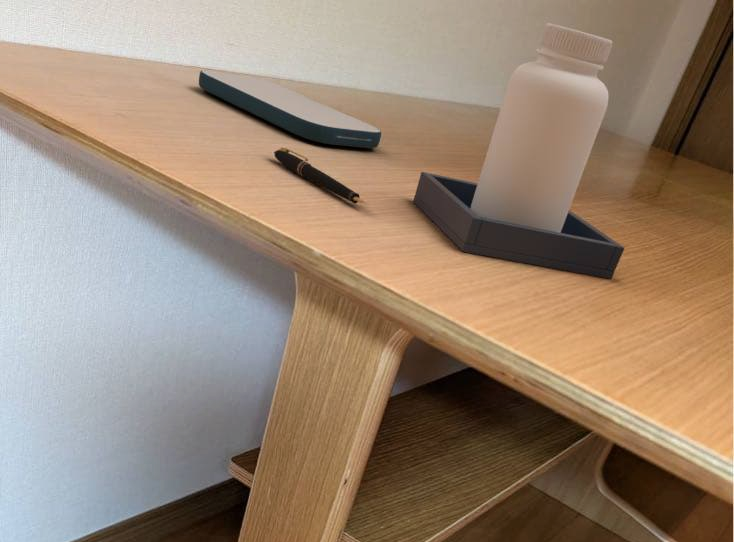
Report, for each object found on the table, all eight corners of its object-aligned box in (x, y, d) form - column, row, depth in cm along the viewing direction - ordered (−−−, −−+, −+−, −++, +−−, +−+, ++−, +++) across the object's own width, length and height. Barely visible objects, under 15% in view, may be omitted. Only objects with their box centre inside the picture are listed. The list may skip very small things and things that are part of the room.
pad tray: (544, 227, 78) (554, 199, 76) (611, 279, 67) (625, 247, 66) (412, 201, 74) (421, 171, 72) (462, 251, 63) (473, 217, 62)
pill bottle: (508, 217, 75) (573, 29, 66) (573, 249, 70) (652, 51, 62) (447, 213, 70) (508, 10, 62) (512, 247, 66) (588, 33, 57)
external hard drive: (186, 85, 96) (188, 66, 95) (264, 96, 103) (267, 78, 102) (310, 147, 83) (315, 125, 82) (389, 154, 91) (394, 134, 89)
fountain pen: (371, 213, 66) (376, 194, 66) (360, 213, 66) (365, 194, 65) (278, 159, 75) (281, 142, 74) (267, 158, 74) (270, 141, 73)
